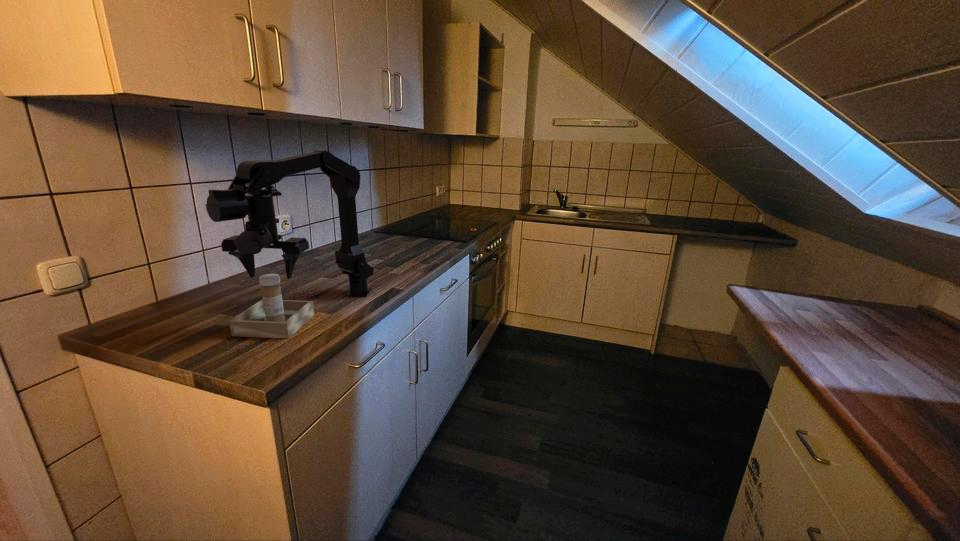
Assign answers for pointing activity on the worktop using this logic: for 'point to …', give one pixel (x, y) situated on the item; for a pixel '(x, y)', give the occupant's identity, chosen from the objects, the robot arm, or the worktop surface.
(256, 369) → the worktop surface
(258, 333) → the peg box
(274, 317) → the sprinkles bottle
